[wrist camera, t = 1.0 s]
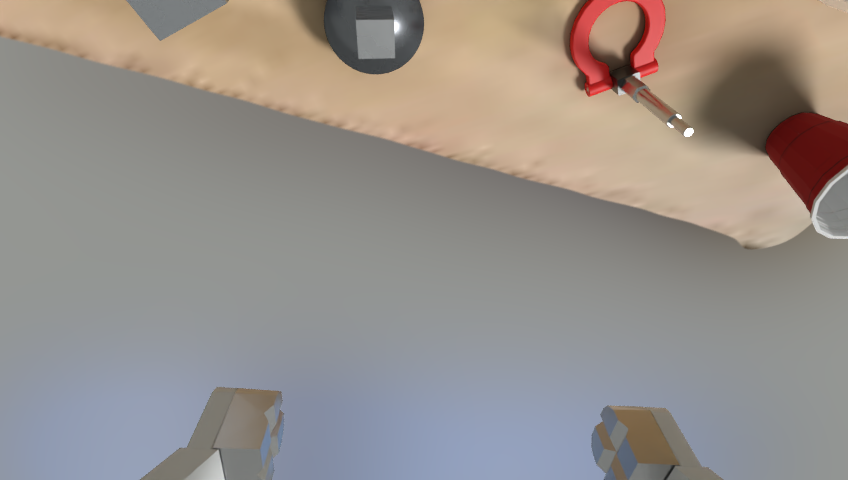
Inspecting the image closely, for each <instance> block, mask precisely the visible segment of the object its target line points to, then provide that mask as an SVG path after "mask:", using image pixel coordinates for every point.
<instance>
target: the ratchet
mask: <svg viewBox="0 0 848 480" xmlns="http://www.w3.org/2000/svg"><path fill="white" fill-rule="evenodd" d="M324 27H325V32H326V36H327V39H328V41H329V44H330V46H331V47H332V49H333V51H334V52H335V53H336V55H337V56H338V57H339V58H340V59H341V60H342V61H343V62H344V63H345V64H347V65H348V66H350V67H351V68H353V69H355V70H357V71H360V72H363V73H368V74H384V73H389V72H392V71H394V70H396V69H398V68H400V67H402V66H403V65H404V64H406V63H407V62H408V61H409V60H410V59H411V58H412V57H413V55H414V54H415V52H416V51H417V49H418V47H419V45H420V43H421V40H422V36H423V31H424V17H423V11H422V7H421V4H420V1H419V0H327V1H326V6H325V12H324Z"/></svg>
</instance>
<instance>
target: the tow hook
mask: <svg viewBox="0 0 848 480" xmlns="http://www.w3.org/2000/svg"><path fill="white" fill-rule="evenodd" d="M623 1H632V2H635V3H637V4H638V5H639V6H640V7H641V8H642V10H643V12H644V15H645V22H646V24H645V30H644V34H643V36H642V39H641V41H640V42H639V44H638V45H637V47H636V48H635V49H634V50H633V51H632V52H631V54H630V62H631V66H630V65H628V66H625V67H622V68H620V69H617V70H614V71H612V72H609V66H608V65H606V64H605V63H603V62H599V61H597V60H595V59H594V58H593V57H592V55H591V53H590V50H589V45H588V41H589V34H590V31H591V28H592V25H593V24H594V22H595V20H596V19H597V17H598V16H599V15H600V14H601V13H602V12H603V11H604V10H605V9H607V8H608V7H609V6H611V5H613V4H616V3H618V2H623ZM665 21H666V19H665V7H664V4H663V2H662V0H588V1H587V2H586V3H585V5H584V6H583V7H582V8H581V10H580V12H579V14H578V15H577V17H576V19H575V21H574V24H573V27H572V31H571V35H570V50H571V55H572V58H573V60H574V62H575V64H576V66H577V67H578V68H579V69H580V70H581V71H582V72H583V73H584V74H585V75H586V81H587V82H586V83H585V91H586V93H587V95H588V96H589V97H590V96H593V95H595V94H598V93H601V92H603V91H606V90H609V89H612V90H613V91H614V92H615V93H617V94H618V95H622V94H625V93H626V94H627V95H629V96H630V97H631V98H632V99H633V100H634V101H635V102H637V103H639V102H640V103H641V104H642V105H643V106H645V107H646V108H647V109H648V110H649V111H650V112H652V113H653V114H654V115H655V116H656V117H658V118H659V119H660V120H661V121H662V122H663V123H665V124H666V125H667V126H668V127H670V128H673V127H674V128H675V129H676V130H678V131H679V132H680V133H681V134H682V135H684V136H685V137H688V136H690V135H692V133H693V131H694V129H693V128H692V127H690V126H689V125H688V124H687V123H685V122H684V121H683V120H682V116H681V115H680V114H679V113H677V112H676V111H675V110H674V109H672V108H671V107H670V106H668V105H667V104H666V103H665V102H663V101H662V100H661V99H659V98H658V97H657V96H656V95H654V94H653V93H652V92H650V89H649V88H648V87H647V86H646V85H645V84H644V83H643V82H641V81H640V78H641V77H644V76H647V75H649V74H652V73H655V72H657V71H658V63H657V60H656V59H655V58H654V51H655V49H656V48H657V46H658V44H659V42H660V39H661V37H662V35H663V31H664V26H665Z"/></svg>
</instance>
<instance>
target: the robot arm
mask: <svg viewBox="0 0 848 480" xmlns="http://www.w3.org/2000/svg"><path fill="white" fill-rule="evenodd" d="M281 393H282V392H281V391H270V390H256V389H243V388H225V387H217V388H216V389H215V390H214V391H213V392H212V394H211V396H210V398H209V400H208V402H207V405H206V407H205V409H204V411H203V413H202V416H201V418H200V420H199V422H198V424H197V427H196V429H195V431H194V433H193V435H192V437H191V439H190V442H189V444H188V446H187V448H179V449H178V450H177V451H175V452H174V453H173V454H172V455H170V456H169V457H168V458H167V459H165V460H164V461H163V462H161V463H160V464H159V465H158V466H156V467H155V468H154V469H153V470H152V471H150V472H149V473H148V474H146V475H145V476H144V477H143V478H141V479H140V480H272V477H273V473H274V464H273V458H274V457H275V456H276V455H277V454H278V453H279V451H280V447H281V442H282V436H283V430H284V413H283V412H282V411H281V410H280V408H281V405H282V401H283V400H282V394H281ZM601 417H602V420H603V422H601V423H600V424H598V425H597V426H595V428H594V431H593V433H592V451H593V456H594V459H595V462H596V464H597V465H598V466H599V467H600V468H601V469H602V470H603V471H604V472H605V473H606V474H605V477H604V480H723V479H722V478H721V477H719V476H718V475H717V474H716V473H714V472H713V471H712V470H711V469H709V468H708V467H702V466H701V464H700V463H699V461H698V459H697V458H696V456H695V454H694V452H693V451H692V449H691V447H690V446H689V444H688V442H687V441H686V439H685V437H684V435H683V434H682V432H681V430H680V429H679V427H678V425H677V423H676V422H675V420H674V418H673V417H672V415H671V413H670V412H669V411H668V410H667V409H666V408H650V407H635V406H606V407H605V408H603V411H602V413H601Z"/></svg>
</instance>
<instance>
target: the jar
mask: <svg viewBox="0 0 848 480" xmlns="http://www.w3.org/2000/svg"><path fill="white" fill-rule="evenodd" d="M819 1H821V2H822V3H823V4H825V5H827V6H829V7H832V8H835V9H837V10H840V11H843V12H846V13H848V0H819Z"/></svg>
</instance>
